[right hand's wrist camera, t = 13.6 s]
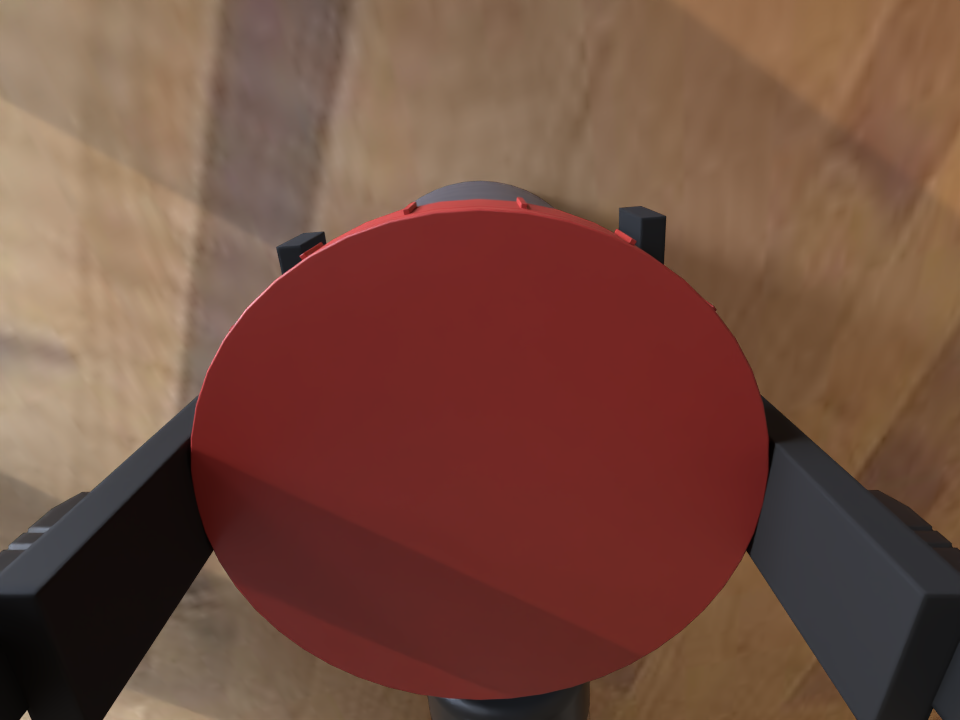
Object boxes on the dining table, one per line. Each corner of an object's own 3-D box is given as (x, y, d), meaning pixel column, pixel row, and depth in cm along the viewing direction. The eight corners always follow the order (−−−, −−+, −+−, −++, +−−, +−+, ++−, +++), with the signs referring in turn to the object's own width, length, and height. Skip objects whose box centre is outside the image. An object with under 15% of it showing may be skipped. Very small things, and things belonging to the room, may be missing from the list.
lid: (781, 562, 14) (820, 617, 12) (367, 687, 15) (354, 749, 14) (657, 94, 10) (692, 85, 8) (117, 331, 11) (59, 361, 10)
